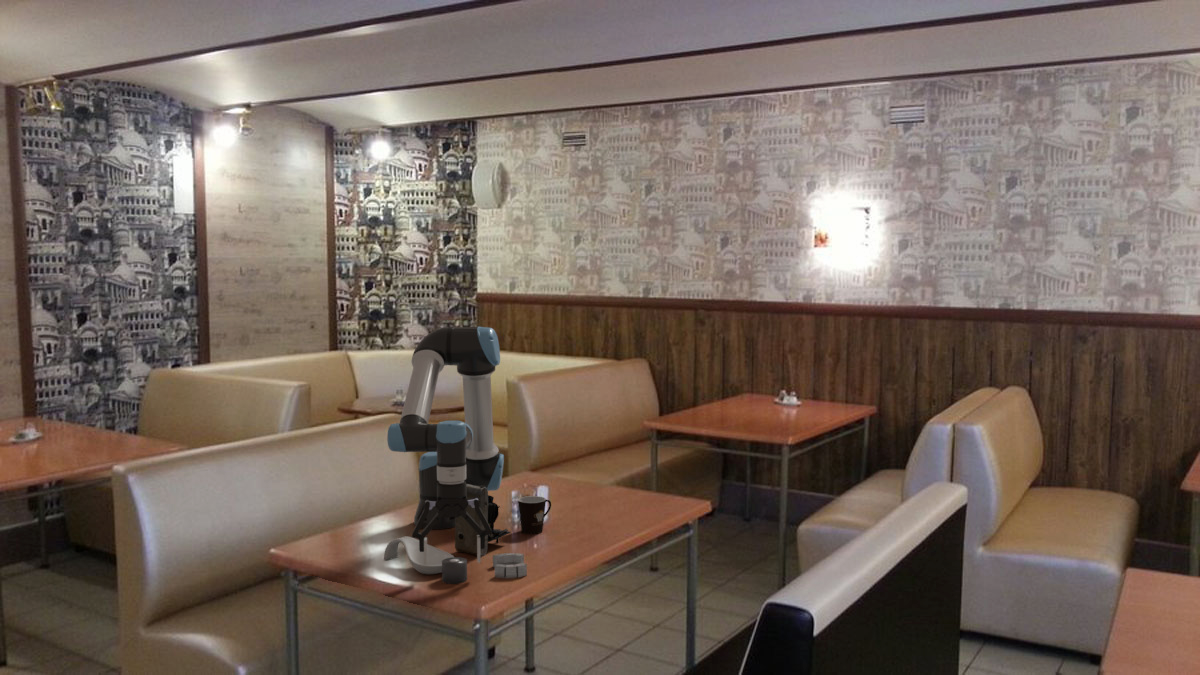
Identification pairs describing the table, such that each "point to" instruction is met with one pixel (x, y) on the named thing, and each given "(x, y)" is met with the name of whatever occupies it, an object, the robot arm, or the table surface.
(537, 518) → the coffee mug
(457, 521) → the vintage camera
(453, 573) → the cap
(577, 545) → the table surface
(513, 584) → the table surface
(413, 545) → the spoon rest
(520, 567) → the grey segmented ring
